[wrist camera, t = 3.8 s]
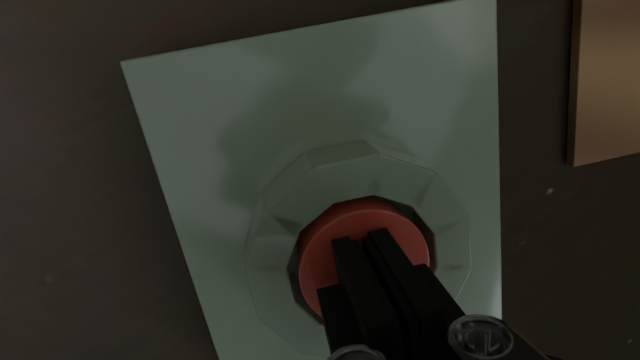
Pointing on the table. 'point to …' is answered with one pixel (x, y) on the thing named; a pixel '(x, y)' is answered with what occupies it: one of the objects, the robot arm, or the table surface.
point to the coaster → (604, 81)
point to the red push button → (355, 223)
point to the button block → (325, 158)
